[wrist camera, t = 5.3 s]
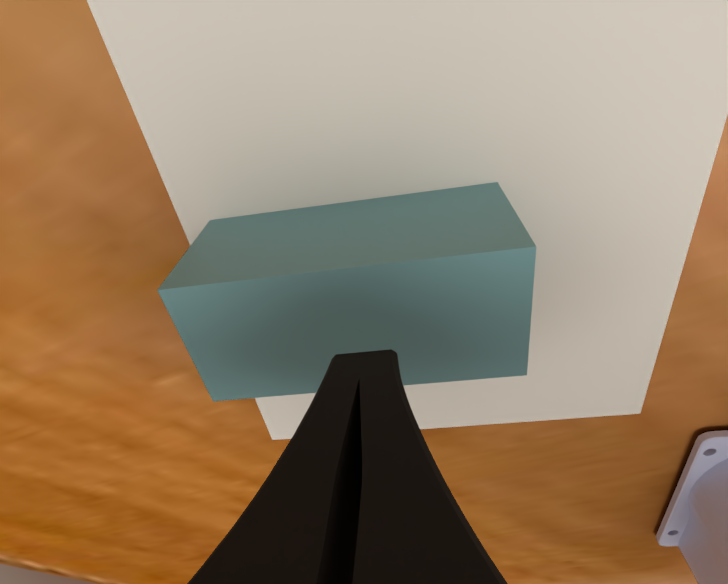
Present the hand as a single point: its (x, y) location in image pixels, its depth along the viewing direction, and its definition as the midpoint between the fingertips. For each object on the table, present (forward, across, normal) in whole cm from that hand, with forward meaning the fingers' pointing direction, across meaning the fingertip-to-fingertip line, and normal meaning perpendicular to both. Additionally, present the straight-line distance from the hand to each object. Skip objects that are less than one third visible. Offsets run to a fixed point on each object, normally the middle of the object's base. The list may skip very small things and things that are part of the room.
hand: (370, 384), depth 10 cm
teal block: (+4, -4, 0) cm, 6 cm away
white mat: (+6, -2, 0) cm, 7 cm away
